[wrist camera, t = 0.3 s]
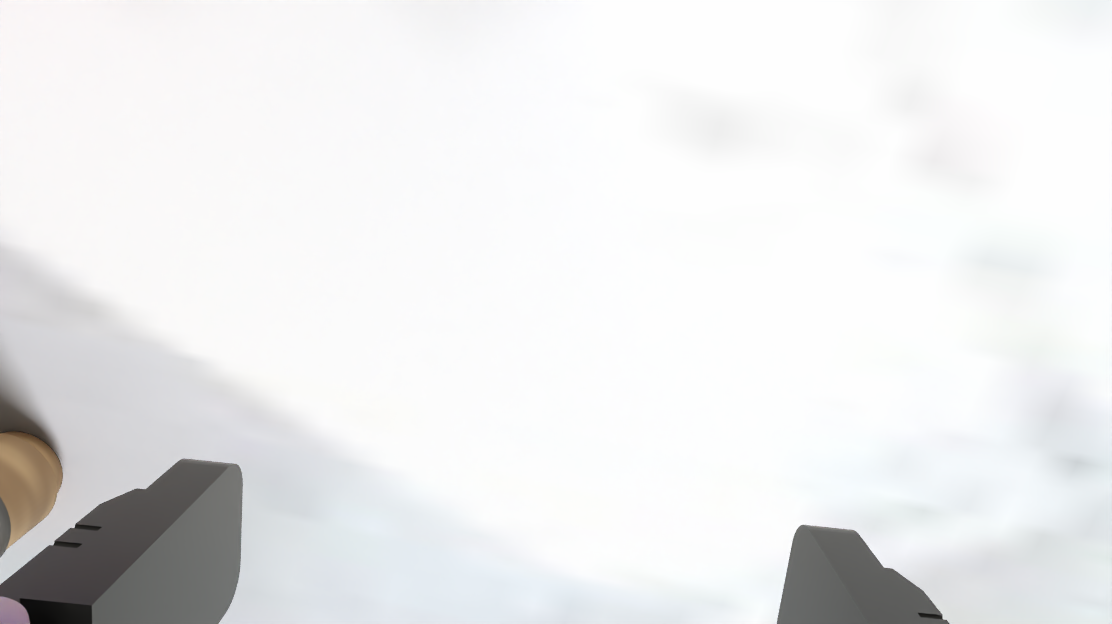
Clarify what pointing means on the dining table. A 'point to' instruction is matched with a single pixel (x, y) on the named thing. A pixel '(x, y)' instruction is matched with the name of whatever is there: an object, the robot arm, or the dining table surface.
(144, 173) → the dining table surface
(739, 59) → the dining table surface
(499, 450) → the dining table surface
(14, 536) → the wooden pepper mill
